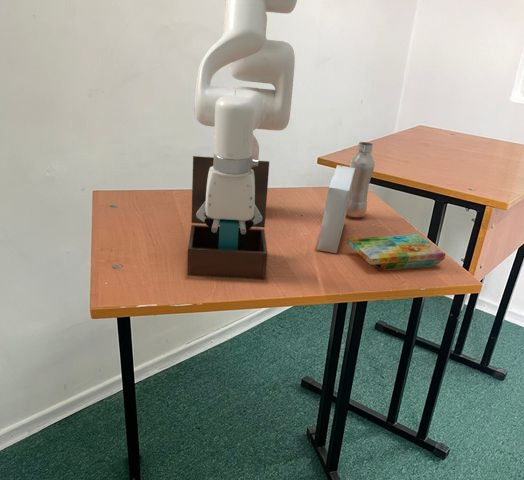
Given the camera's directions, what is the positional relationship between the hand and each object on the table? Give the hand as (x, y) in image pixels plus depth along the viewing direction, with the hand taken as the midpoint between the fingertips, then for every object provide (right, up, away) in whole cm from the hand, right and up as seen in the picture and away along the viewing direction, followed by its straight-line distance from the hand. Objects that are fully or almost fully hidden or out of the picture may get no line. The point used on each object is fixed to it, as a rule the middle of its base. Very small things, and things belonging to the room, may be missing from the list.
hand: (227, 247), depth 127 cm
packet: (0, -1, +1) cm, 1 cm away
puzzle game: (+39, -1, +15) cm, 42 cm away
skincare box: (+26, +7, +24) cm, 36 cm away
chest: (-1, -4, +4) cm, 6 cm away
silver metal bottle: (+33, +16, +39) cm, 54 cm away
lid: (0, +13, +3) cm, 13 cm away
